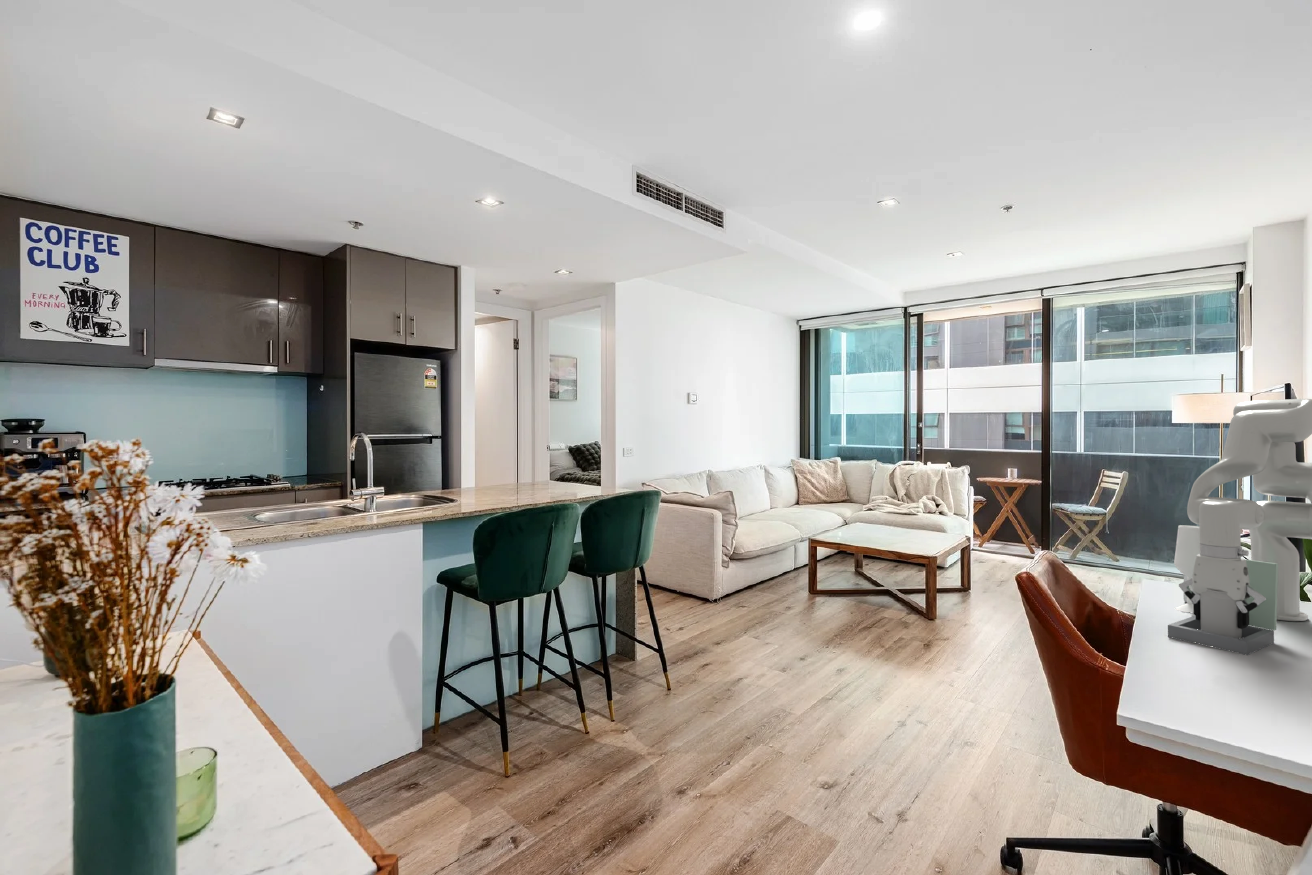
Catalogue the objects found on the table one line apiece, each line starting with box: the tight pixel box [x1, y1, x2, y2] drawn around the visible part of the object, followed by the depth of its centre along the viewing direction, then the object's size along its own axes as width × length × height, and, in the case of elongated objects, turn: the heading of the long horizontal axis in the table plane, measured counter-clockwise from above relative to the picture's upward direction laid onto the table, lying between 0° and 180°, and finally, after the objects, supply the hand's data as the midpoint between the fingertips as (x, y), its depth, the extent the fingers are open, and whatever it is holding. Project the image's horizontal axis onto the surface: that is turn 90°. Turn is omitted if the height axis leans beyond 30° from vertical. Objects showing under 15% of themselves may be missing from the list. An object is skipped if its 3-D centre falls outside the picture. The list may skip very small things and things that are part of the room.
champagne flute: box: [1173, 524, 1200, 614], centre depth 178 cm, size 7×7×24 cm
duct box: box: [1167, 615, 1275, 656], centre depth 153 cm, size 16×15×3 cm
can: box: [1200, 589, 1242, 639], centre depth 153 cm, size 8×8×12 cm
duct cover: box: [1245, 559, 1278, 631], centre depth 158 cm, size 16×15×1 cm
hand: (1220, 622), depth 153 cm, fingers closed on can, 7 cm apart
